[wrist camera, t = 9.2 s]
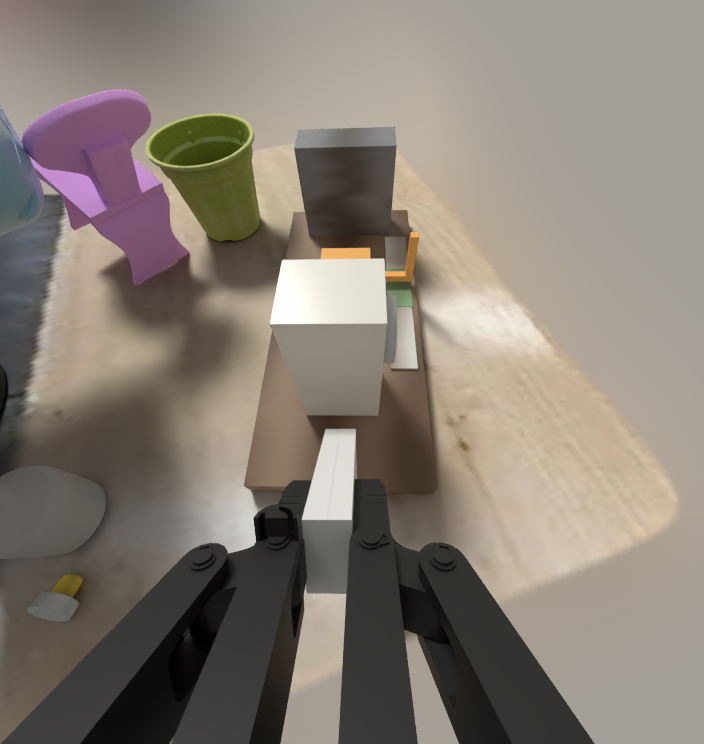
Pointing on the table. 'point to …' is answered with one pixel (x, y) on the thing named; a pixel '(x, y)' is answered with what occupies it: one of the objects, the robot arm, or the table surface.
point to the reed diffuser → (48, 526)
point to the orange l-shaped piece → (365, 254)
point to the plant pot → (211, 171)
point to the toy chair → (106, 175)
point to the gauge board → (389, 242)
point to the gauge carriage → (335, 332)
